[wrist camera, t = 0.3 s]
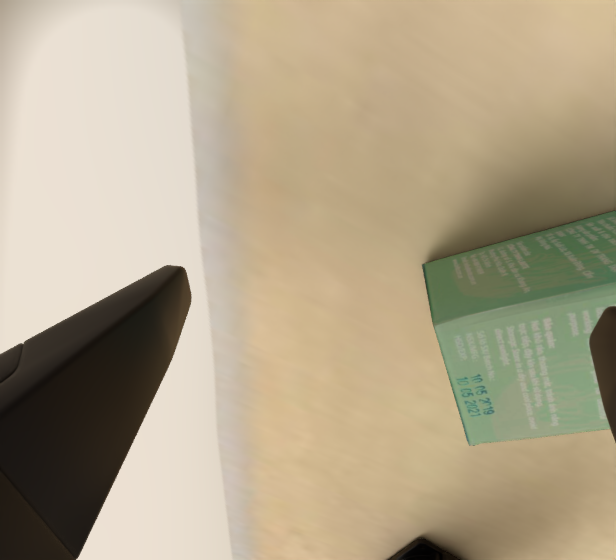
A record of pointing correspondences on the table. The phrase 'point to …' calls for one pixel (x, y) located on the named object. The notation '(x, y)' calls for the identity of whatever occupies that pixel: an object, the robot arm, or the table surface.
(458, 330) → the box
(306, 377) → the table surface
